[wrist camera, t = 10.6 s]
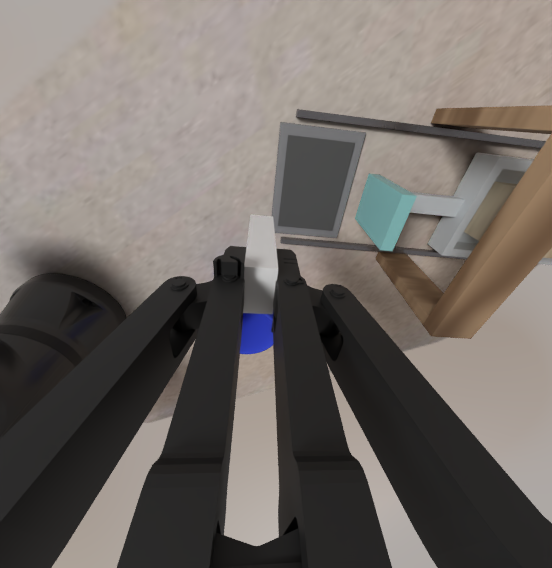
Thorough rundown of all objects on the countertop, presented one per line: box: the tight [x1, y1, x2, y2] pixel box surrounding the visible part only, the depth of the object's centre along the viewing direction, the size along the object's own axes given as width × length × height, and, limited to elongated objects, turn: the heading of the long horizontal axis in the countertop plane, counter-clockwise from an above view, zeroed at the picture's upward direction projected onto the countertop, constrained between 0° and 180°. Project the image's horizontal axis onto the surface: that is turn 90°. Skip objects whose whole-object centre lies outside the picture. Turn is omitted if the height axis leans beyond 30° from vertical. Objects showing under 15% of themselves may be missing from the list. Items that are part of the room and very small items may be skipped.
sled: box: [355, 152, 552, 265], centre depth 25 cm, size 28×11×10 cm, turn 84°
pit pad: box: [272, 122, 366, 238], centre depth 28 cm, size 9×12×1 cm
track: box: [281, 109, 546, 259], centre depth 28 cm, size 30×15×1 cm, turn 84°
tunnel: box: [376, 106, 552, 339], centre depth 23 cm, size 4×17×14 cm, turn 174°
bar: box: [464, 182, 552, 258], centre depth 26 cm, size 12×6×6 cm, turn 84°
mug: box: [240, 313, 273, 354], centre depth 31 cm, size 8×12×10 cm
